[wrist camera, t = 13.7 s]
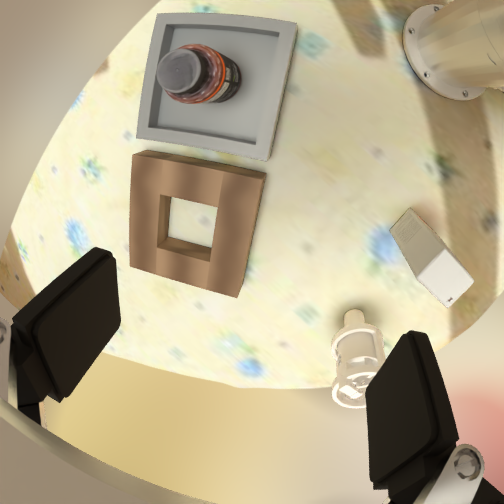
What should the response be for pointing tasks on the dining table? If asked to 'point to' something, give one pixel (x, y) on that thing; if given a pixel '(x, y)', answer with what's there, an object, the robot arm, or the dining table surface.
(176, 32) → the tray
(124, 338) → the dining table surface
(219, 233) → the socket block
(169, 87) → the supplement bottle
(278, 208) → the dining table surface
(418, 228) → the skincare box
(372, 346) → the white cylindrical cage holder
